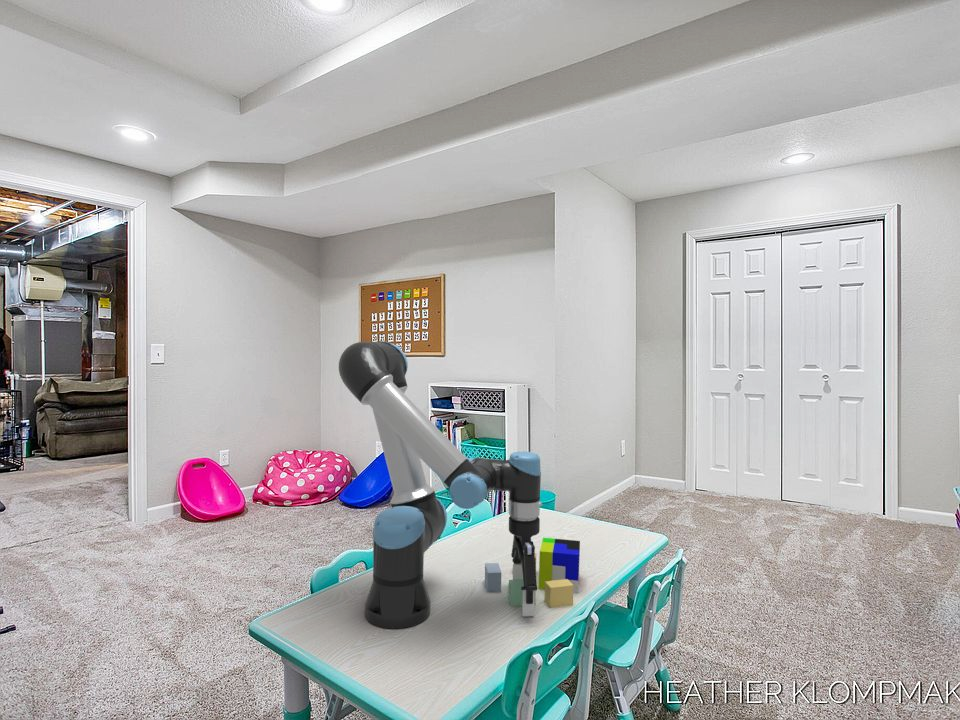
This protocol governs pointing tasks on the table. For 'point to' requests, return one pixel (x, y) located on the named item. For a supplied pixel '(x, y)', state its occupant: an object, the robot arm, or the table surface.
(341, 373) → the robot arm
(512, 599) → the green block
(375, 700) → the table surface
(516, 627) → the table surface
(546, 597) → the ochre block
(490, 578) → the slate block
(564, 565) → the puzzle toy
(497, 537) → the table surface
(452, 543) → the table surface
